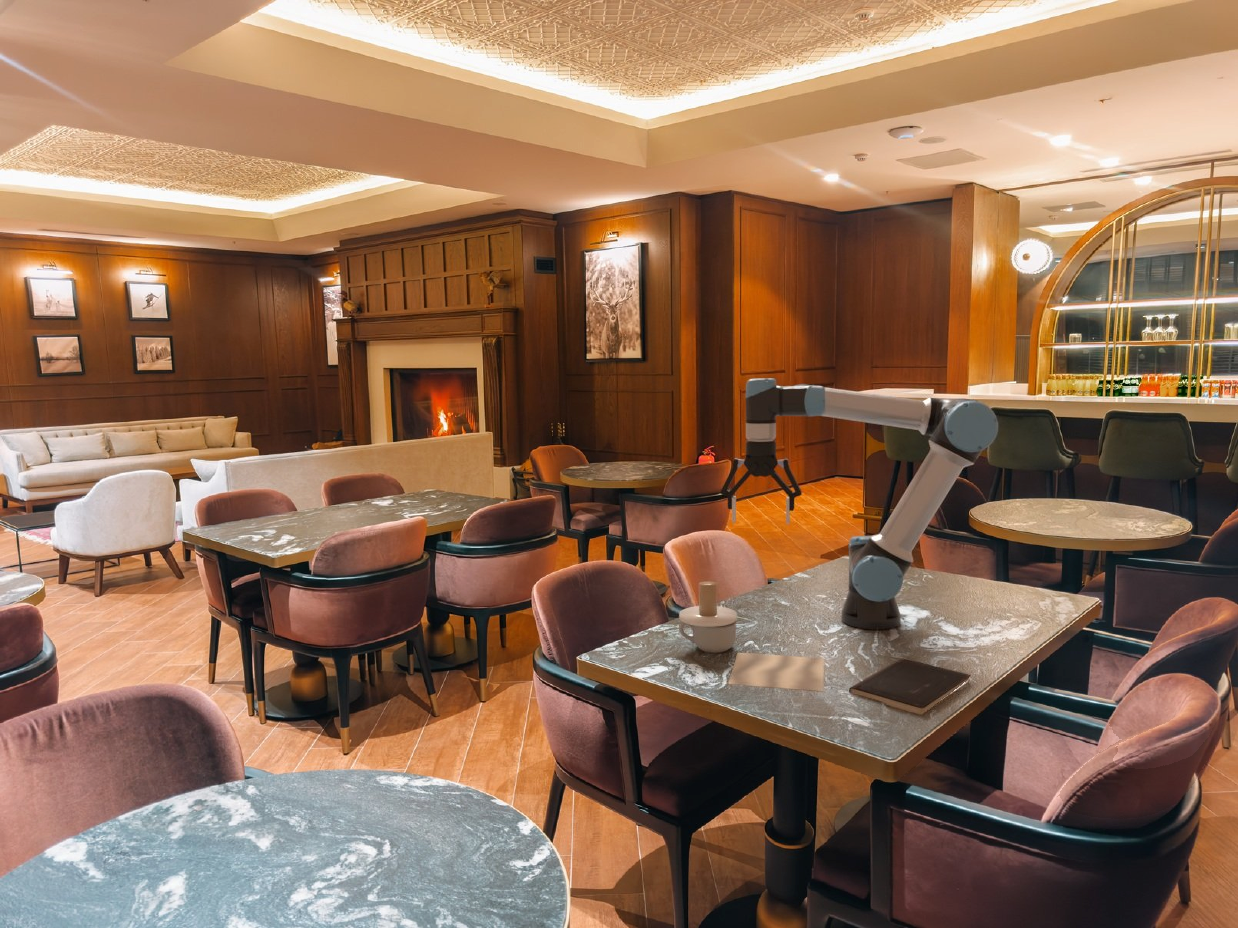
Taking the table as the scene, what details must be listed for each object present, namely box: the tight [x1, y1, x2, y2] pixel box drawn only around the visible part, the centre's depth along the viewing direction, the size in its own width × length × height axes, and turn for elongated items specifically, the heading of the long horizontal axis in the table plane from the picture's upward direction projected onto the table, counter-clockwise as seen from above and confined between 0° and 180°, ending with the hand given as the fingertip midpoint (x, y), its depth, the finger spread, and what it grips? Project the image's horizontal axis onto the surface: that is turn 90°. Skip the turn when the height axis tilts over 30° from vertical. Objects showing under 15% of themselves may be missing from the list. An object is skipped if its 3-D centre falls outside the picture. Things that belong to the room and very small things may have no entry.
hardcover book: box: [848, 657, 972, 716], centre depth 175 cm, size 16×23×2 cm
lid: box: [678, 580, 738, 627], centre depth 199 cm, size 14×14×8 cm
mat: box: [727, 652, 825, 692], centre depth 185 cm, size 20×20×1 cm
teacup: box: [678, 620, 737, 654], centre depth 200 cm, size 14×11×8 cm
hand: (760, 522), depth 210 cm, fingers open, 13 cm apart
